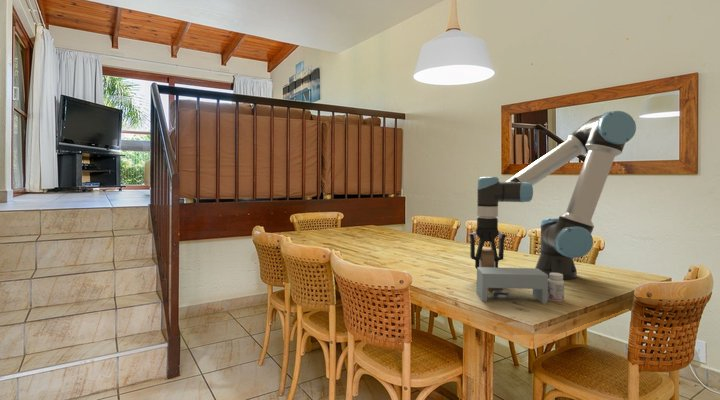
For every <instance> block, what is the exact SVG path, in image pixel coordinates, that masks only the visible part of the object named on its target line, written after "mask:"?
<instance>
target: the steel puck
mask: <svg viewBox="0 0 720 400" xmlns="http://www.w3.org/2000/svg"><path fill="white" fill-rule="evenodd" d="M509 296H510V292H509V291H507V290H505V289H503V290H493V291H492V298H493V299H496V300H501V301H503V300H504V301H506V300H509V298H510V297H509Z"/></svg>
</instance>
